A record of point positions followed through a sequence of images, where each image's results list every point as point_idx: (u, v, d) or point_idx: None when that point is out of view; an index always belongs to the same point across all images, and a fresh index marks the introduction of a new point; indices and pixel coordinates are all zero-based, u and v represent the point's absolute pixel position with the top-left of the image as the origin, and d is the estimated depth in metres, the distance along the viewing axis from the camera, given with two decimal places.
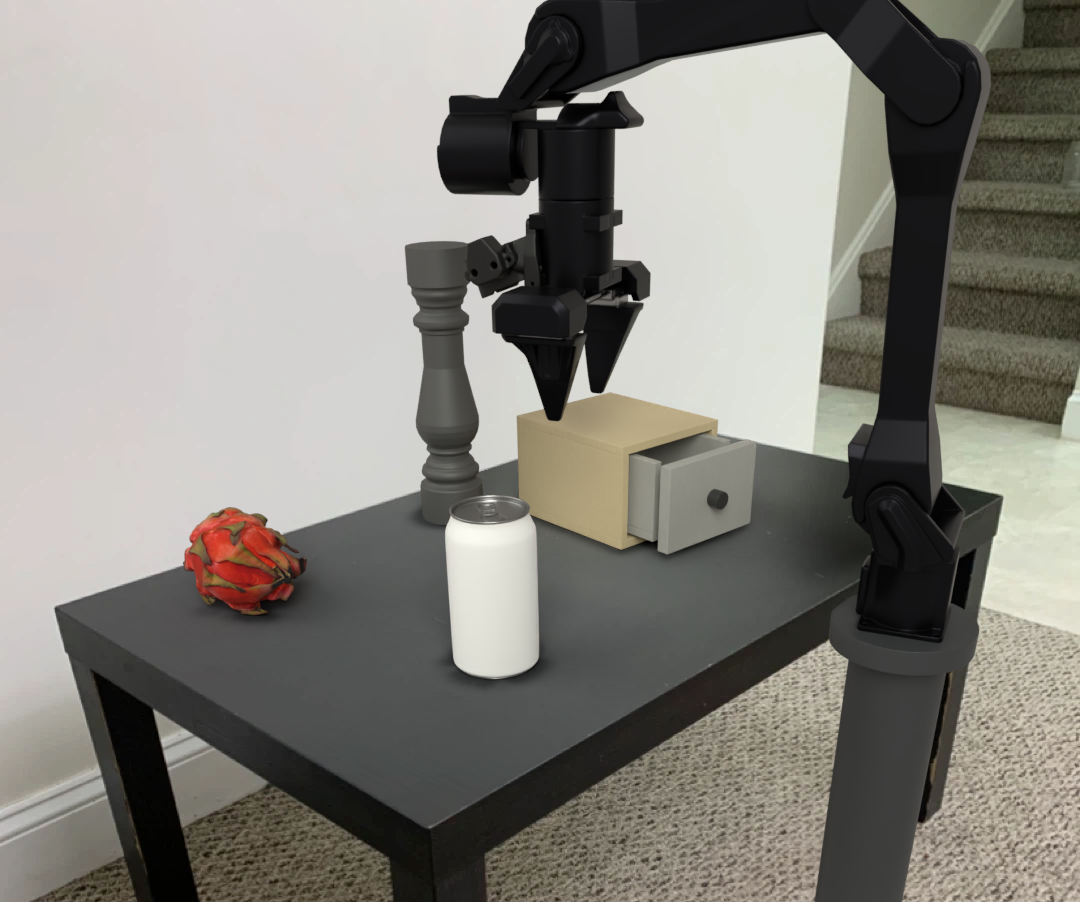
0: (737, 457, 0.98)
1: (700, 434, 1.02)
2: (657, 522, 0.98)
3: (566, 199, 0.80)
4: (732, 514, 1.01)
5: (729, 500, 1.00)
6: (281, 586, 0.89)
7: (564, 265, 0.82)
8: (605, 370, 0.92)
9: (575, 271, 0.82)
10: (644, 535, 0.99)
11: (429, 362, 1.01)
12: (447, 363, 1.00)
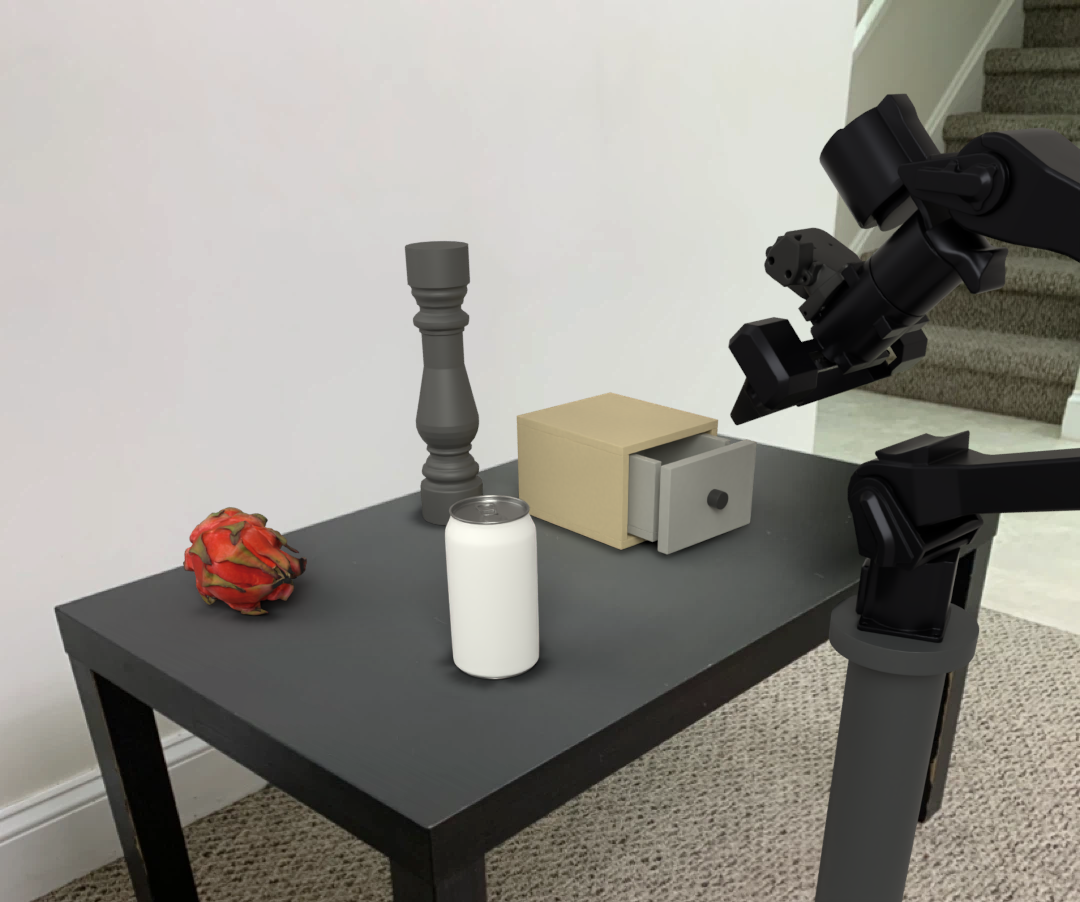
0: (737, 457, 0.98)
1: (700, 434, 1.02)
2: (657, 522, 0.98)
3: (881, 291, 0.76)
4: (732, 514, 1.01)
5: (729, 500, 1.00)
6: (281, 586, 0.89)
7: (836, 330, 0.80)
8: (814, 395, 0.91)
9: (840, 343, 0.80)
10: (644, 535, 0.99)
11: (429, 362, 1.01)
12: (447, 363, 1.00)
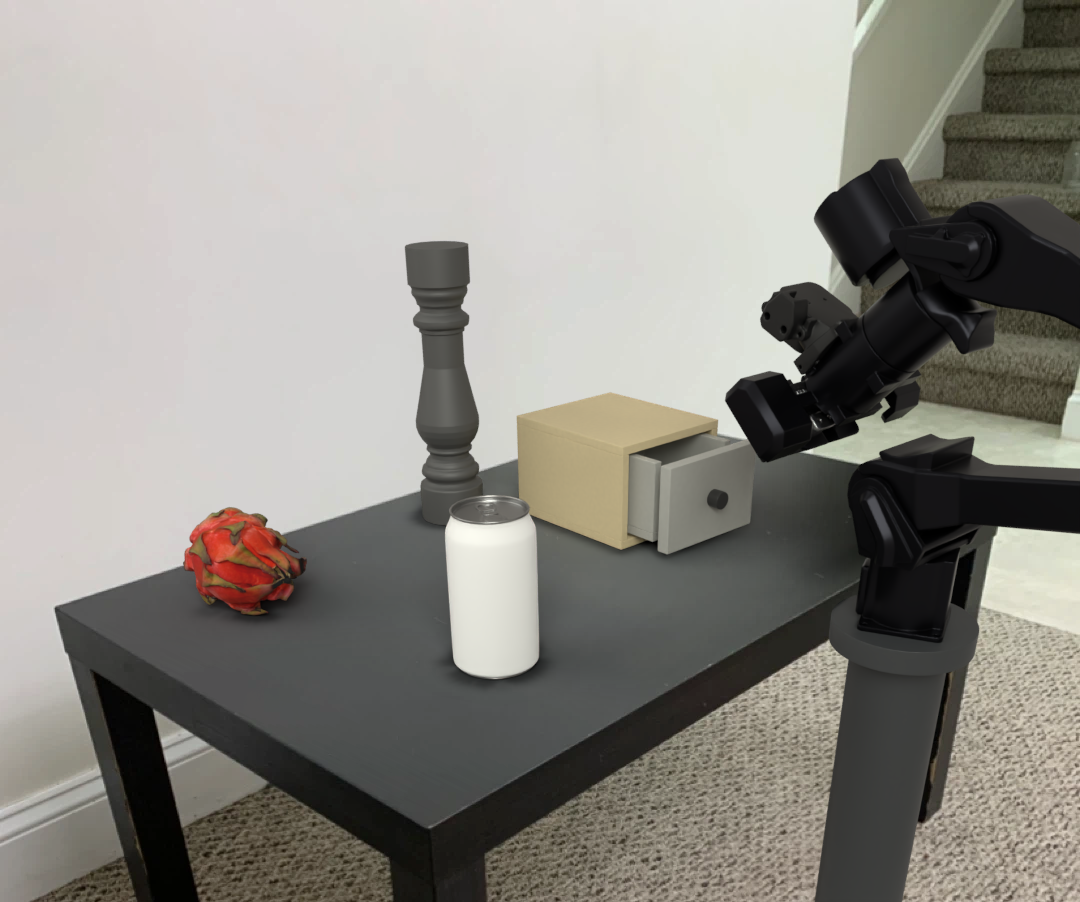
0: (737, 457, 0.98)
1: (700, 434, 1.02)
2: (657, 522, 0.98)
3: (874, 348, 0.78)
4: (732, 514, 1.01)
5: (729, 500, 1.00)
6: (281, 586, 0.89)
7: (830, 384, 0.82)
8: None
9: (834, 397, 0.82)
10: (644, 535, 0.99)
11: (429, 362, 1.01)
12: (447, 363, 1.00)
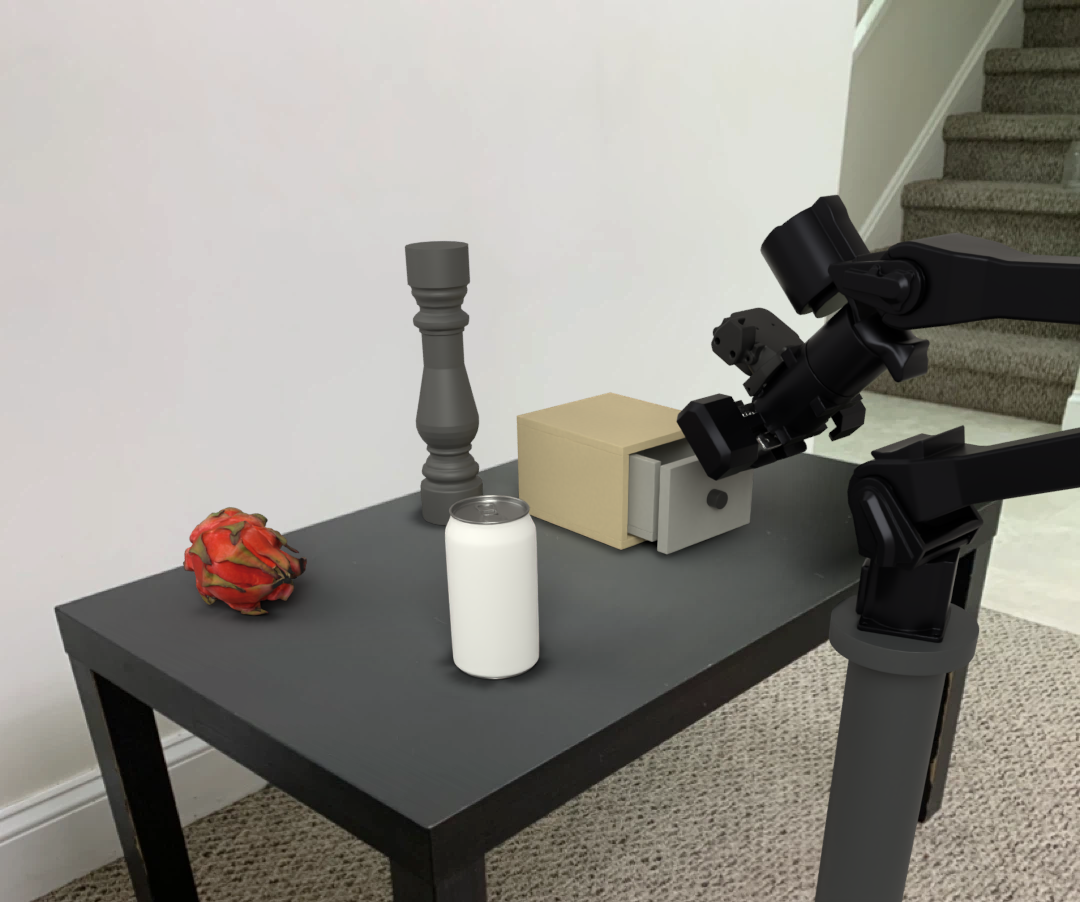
0: None
1: None
2: (657, 522, 0.98)
3: (816, 374, 0.82)
4: (731, 513, 1.01)
5: (729, 500, 1.00)
6: (281, 586, 0.89)
7: (776, 407, 0.86)
8: None
9: (780, 418, 0.86)
10: (644, 535, 0.99)
11: (429, 362, 1.01)
12: (447, 363, 1.00)
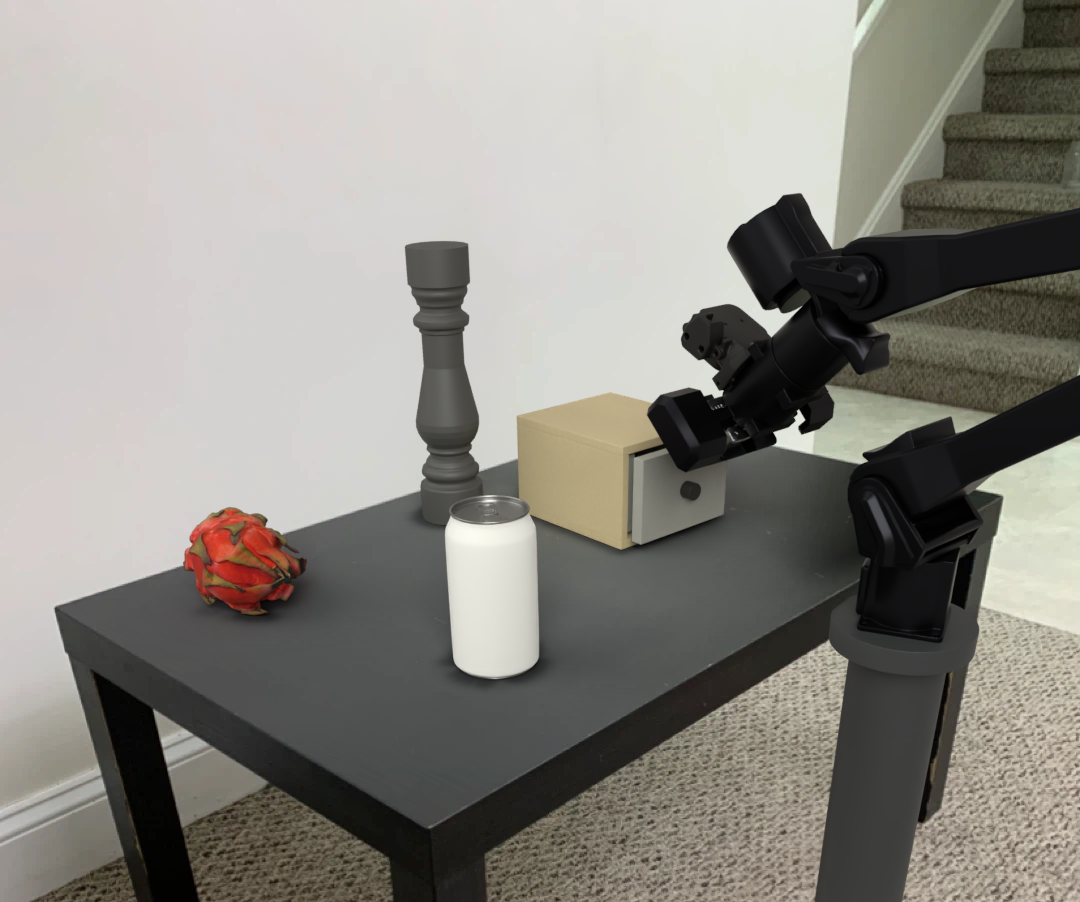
0: None
1: None
2: (631, 513, 1.01)
3: (781, 368, 0.84)
4: (705, 505, 1.03)
5: (702, 492, 1.02)
6: (281, 586, 0.89)
7: (744, 400, 0.88)
8: None
9: (748, 411, 0.89)
10: None
11: (429, 362, 1.01)
12: (447, 363, 1.00)
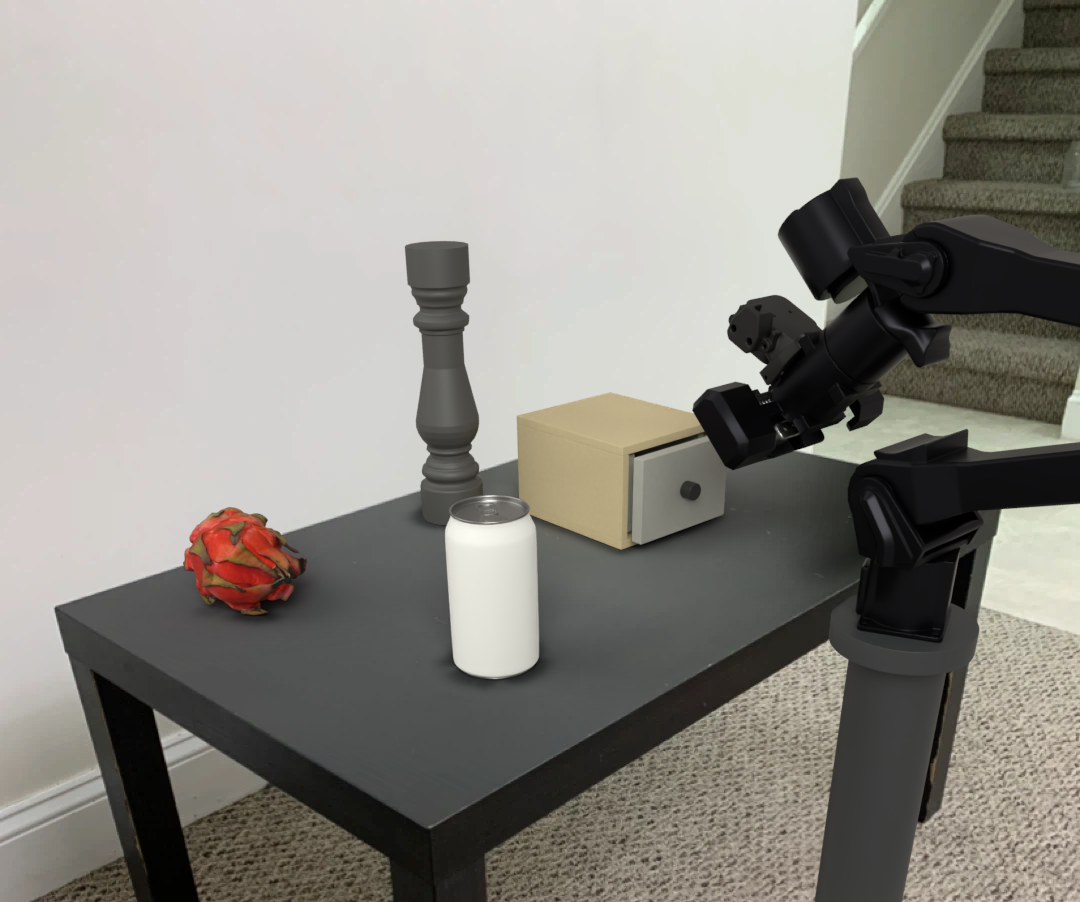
0: (710, 449, 1.01)
1: None
2: (631, 513, 1.01)
3: (835, 361, 0.81)
4: (705, 505, 1.03)
5: (702, 492, 1.02)
6: (281, 586, 0.89)
7: (794, 395, 0.84)
8: None
9: (798, 407, 0.85)
10: None
11: (429, 362, 1.01)
12: (447, 363, 1.00)
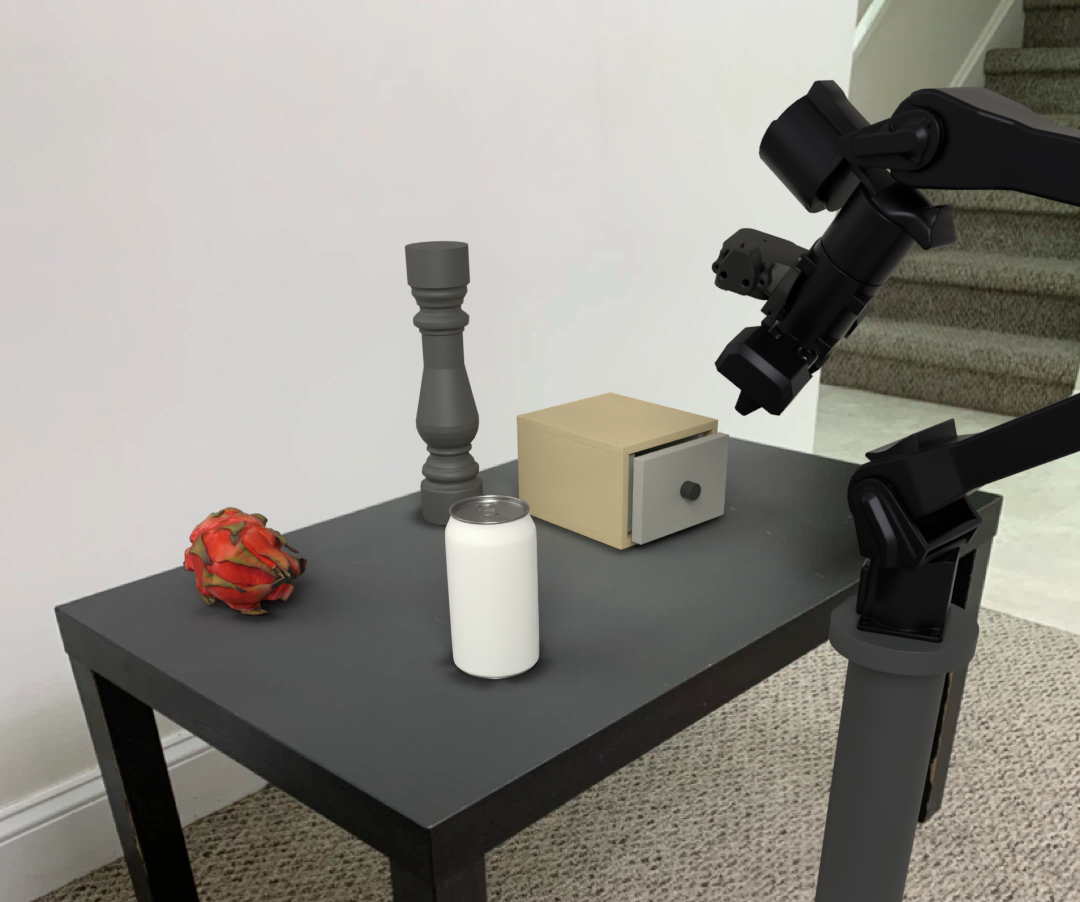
0: (710, 449, 1.01)
1: None
2: (631, 513, 1.01)
3: (846, 272, 0.77)
4: (705, 505, 1.03)
5: (702, 492, 1.02)
6: (281, 586, 0.89)
7: (807, 321, 0.81)
8: None
9: (814, 331, 0.81)
10: None
11: (429, 362, 1.01)
12: (447, 363, 1.00)
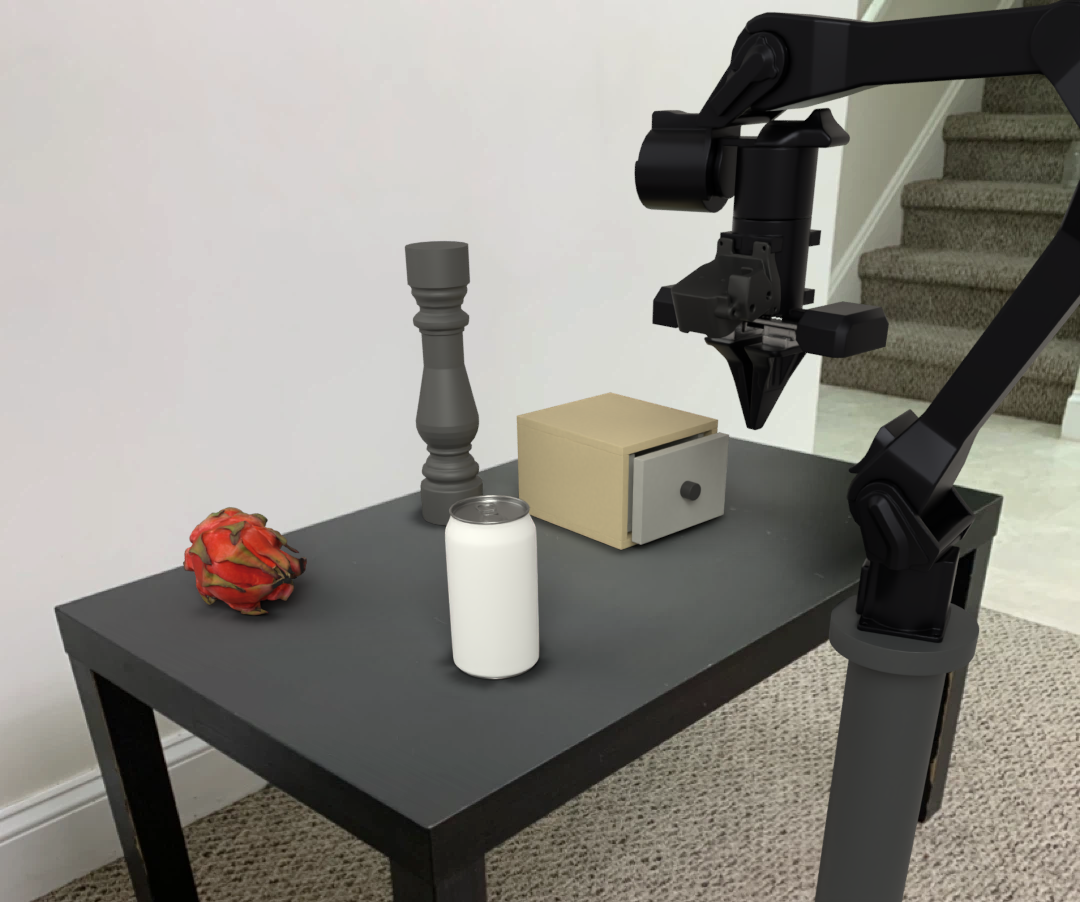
0: (710, 449, 1.01)
1: None
2: (631, 513, 1.01)
3: (806, 216, 0.78)
4: (705, 505, 1.03)
5: (702, 492, 1.02)
6: (281, 586, 0.89)
7: (798, 284, 0.80)
8: None
9: (803, 288, 0.81)
10: None
11: (429, 362, 1.01)
12: (447, 363, 1.00)
